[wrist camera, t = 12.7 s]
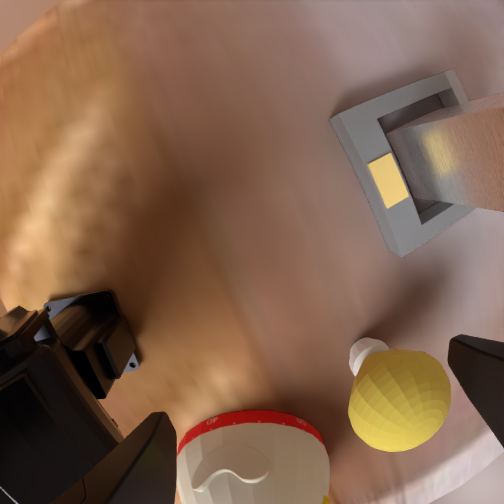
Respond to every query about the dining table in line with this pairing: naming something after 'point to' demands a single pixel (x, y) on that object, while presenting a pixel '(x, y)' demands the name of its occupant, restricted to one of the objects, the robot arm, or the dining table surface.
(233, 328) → the dining table surface
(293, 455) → the kitchen timer
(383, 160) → the plate
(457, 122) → the rectangular block post
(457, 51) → the dining table surface
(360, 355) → the light bulb
